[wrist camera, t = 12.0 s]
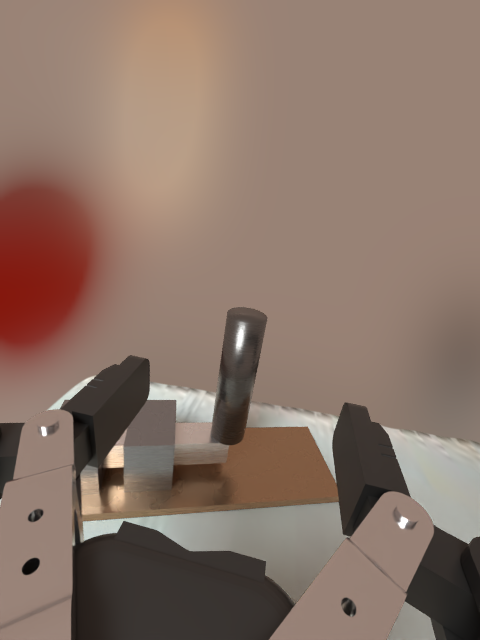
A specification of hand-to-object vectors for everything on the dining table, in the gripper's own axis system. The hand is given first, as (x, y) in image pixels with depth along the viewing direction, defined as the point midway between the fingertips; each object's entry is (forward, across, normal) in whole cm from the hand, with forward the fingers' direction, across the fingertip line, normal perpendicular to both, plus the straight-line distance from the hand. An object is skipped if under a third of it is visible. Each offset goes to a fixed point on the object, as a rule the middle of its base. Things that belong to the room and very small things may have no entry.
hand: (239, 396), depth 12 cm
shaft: (+9, +8, +16) cm, 21 cm away
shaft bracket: (+11, +4, +19) cm, 22 cm away
